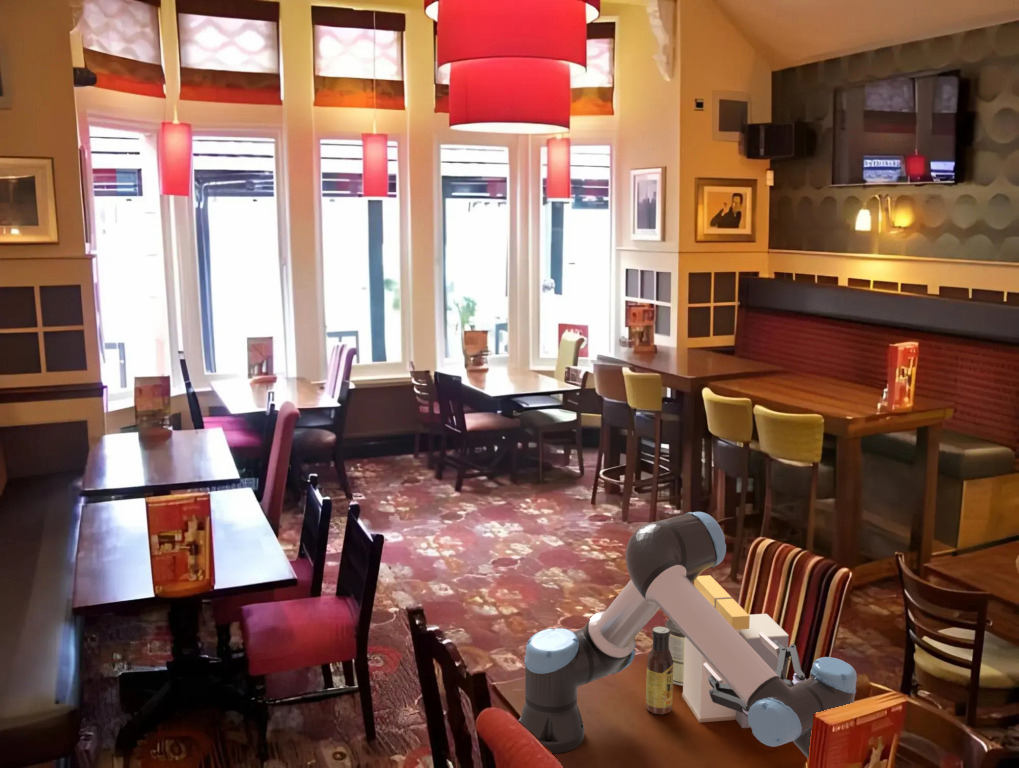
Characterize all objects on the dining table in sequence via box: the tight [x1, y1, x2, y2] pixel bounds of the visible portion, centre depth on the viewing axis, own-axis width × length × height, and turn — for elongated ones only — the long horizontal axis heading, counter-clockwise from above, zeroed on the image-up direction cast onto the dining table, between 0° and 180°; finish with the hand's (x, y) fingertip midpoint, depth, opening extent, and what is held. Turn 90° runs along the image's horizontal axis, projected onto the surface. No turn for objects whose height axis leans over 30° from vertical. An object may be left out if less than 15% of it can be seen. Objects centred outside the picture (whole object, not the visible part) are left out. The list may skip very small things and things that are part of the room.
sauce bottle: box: [645, 626, 674, 715], centre depth 218 cm, size 7×6×20 cm
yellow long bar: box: [693, 574, 750, 630], centre depth 212 cm, size 24×4×3 cm, turn 8°
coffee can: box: [664, 618, 685, 687], centre depth 234 cm, size 10×10×14 cm
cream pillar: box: [681, 629, 741, 723], centre depth 218 cm, size 12×9×27 cm
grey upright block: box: [736, 613, 790, 729], centre depth 216 cm, size 12×10×22 cm
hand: (734, 652), depth 193 cm, fingers open, 13 cm apart
